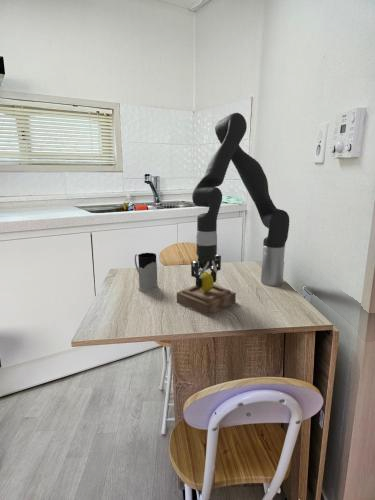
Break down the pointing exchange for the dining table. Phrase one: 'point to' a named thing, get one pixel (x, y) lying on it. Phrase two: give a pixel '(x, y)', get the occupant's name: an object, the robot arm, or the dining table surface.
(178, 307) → the dining table surface
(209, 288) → the lemon
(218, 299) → the brown wooden crate
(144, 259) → the glass holder
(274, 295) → the dining table surface
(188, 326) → the dining table surface
